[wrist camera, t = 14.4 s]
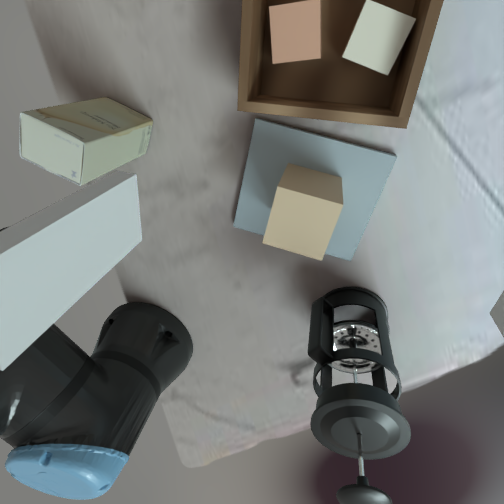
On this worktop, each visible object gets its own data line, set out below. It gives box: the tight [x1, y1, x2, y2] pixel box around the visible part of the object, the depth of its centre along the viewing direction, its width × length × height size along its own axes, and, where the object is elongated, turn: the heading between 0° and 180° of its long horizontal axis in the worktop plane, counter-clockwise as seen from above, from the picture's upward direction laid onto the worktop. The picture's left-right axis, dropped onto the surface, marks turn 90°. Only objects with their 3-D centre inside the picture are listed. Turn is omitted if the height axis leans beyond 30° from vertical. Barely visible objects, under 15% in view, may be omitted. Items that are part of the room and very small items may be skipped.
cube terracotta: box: [269, 0, 322, 64], centre depth 29 cm, size 4×4×4 cm
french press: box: [308, 287, 411, 504], centre depth 36 cm, size 12×9×23 cm
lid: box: [233, 118, 397, 261], centre depth 35 cm, size 15×13×9 cm
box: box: [237, 0, 444, 129], centre depth 28 cm, size 14×12×7 cm
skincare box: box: [20, 97, 153, 186], centre depth 34 cm, size 6×4×12 cm
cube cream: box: [342, 0, 416, 75], centre depth 28 cm, size 4×4×4 cm
